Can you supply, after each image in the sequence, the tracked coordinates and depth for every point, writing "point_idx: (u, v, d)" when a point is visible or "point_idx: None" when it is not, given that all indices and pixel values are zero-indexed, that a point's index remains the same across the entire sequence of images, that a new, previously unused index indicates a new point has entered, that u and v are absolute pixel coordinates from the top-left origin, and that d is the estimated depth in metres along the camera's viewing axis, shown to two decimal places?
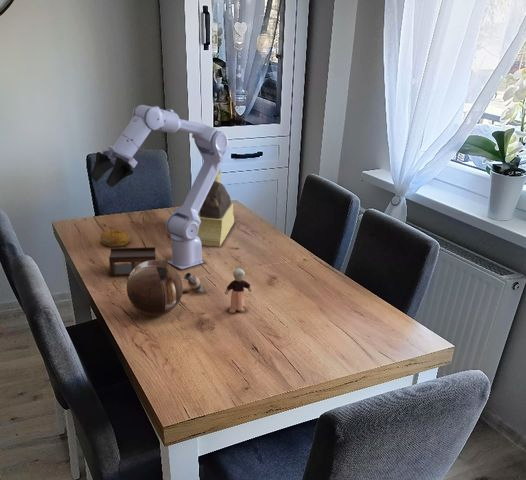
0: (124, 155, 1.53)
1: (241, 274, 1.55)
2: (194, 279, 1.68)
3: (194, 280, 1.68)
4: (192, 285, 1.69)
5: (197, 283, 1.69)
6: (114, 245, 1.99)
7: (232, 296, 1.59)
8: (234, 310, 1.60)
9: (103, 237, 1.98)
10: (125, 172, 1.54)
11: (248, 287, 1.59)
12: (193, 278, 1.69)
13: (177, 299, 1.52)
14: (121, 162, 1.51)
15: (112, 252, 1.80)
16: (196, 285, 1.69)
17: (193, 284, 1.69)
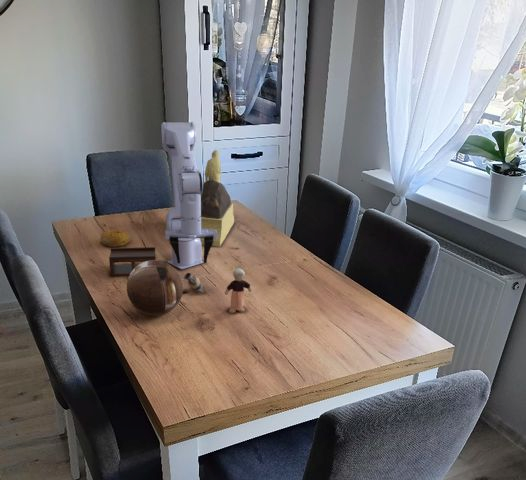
0: (206, 234, 1.61)
1: (241, 274, 1.55)
2: (194, 279, 1.68)
3: (194, 280, 1.68)
4: (192, 285, 1.69)
5: (197, 283, 1.69)
6: (114, 245, 1.99)
7: (232, 296, 1.59)
8: (234, 310, 1.60)
9: (103, 237, 1.98)
10: None
11: (248, 287, 1.59)
12: (193, 278, 1.69)
13: (177, 299, 1.52)
14: (212, 244, 1.62)
15: (112, 252, 1.80)
16: (196, 285, 1.69)
17: (193, 284, 1.69)
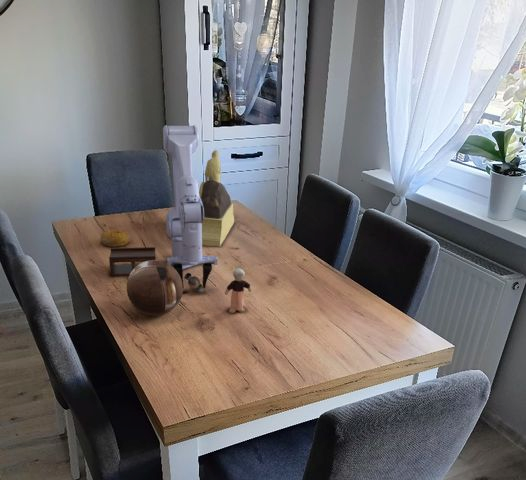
0: (207, 261, 1.65)
1: (241, 274, 1.55)
2: (194, 279, 1.68)
3: (194, 280, 1.68)
4: (192, 285, 1.69)
5: (197, 283, 1.69)
6: (114, 245, 1.99)
7: (232, 296, 1.59)
8: (234, 310, 1.60)
9: (103, 237, 1.98)
10: None
11: (248, 287, 1.59)
12: (193, 278, 1.69)
13: (177, 299, 1.52)
14: None
15: (112, 252, 1.80)
16: (196, 285, 1.69)
17: (193, 284, 1.69)
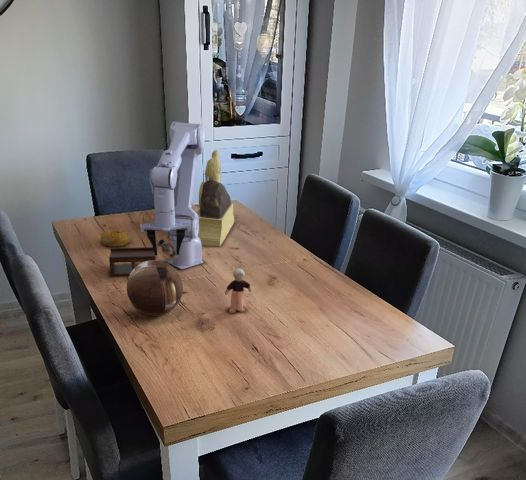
0: (180, 227, 1.66)
1: (241, 274, 1.55)
2: (168, 246, 1.69)
3: (168, 247, 1.69)
4: (166, 252, 1.69)
5: (171, 250, 1.70)
6: (114, 245, 1.99)
7: (232, 296, 1.59)
8: (234, 310, 1.60)
9: (103, 237, 1.98)
10: None
11: (248, 287, 1.59)
12: (167, 245, 1.69)
13: (177, 299, 1.52)
14: (184, 236, 1.67)
15: (112, 252, 1.80)
16: (170, 252, 1.70)
17: (166, 251, 1.69)
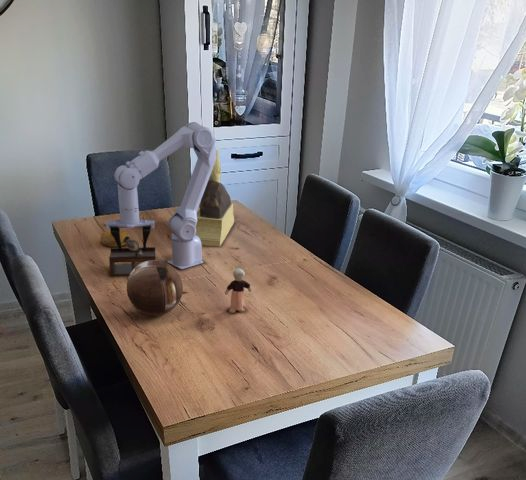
0: (144, 224, 1.74)
1: (241, 274, 1.55)
2: (133, 242, 1.77)
3: (133, 243, 1.77)
4: (131, 248, 1.77)
5: (136, 246, 1.77)
6: (114, 245, 1.99)
7: (232, 296, 1.59)
8: (234, 310, 1.60)
9: (103, 237, 1.98)
10: None
11: (248, 287, 1.59)
12: (132, 241, 1.77)
13: (177, 299, 1.52)
14: (149, 233, 1.75)
15: (112, 252, 1.80)
16: (135, 248, 1.77)
17: (131, 247, 1.77)
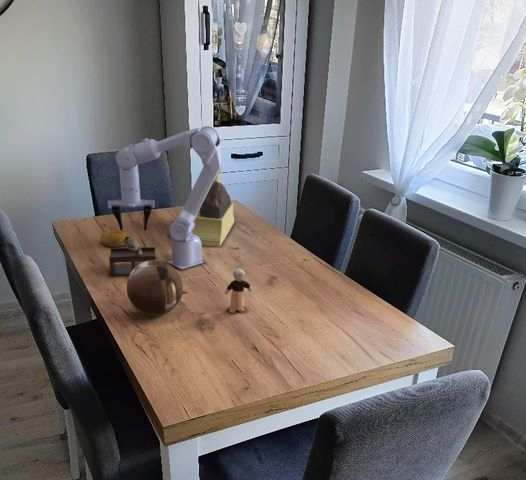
0: (145, 204, 1.81)
1: (241, 274, 1.55)
2: (133, 242, 1.77)
3: (133, 243, 1.77)
4: (131, 248, 1.77)
5: (136, 246, 1.77)
6: (114, 245, 1.99)
7: (232, 296, 1.59)
8: (234, 310, 1.60)
9: (103, 237, 1.98)
10: None
11: (248, 287, 1.59)
12: (132, 241, 1.77)
13: (177, 299, 1.52)
14: (150, 212, 1.82)
15: (112, 252, 1.80)
16: (135, 248, 1.77)
17: (131, 247, 1.77)
